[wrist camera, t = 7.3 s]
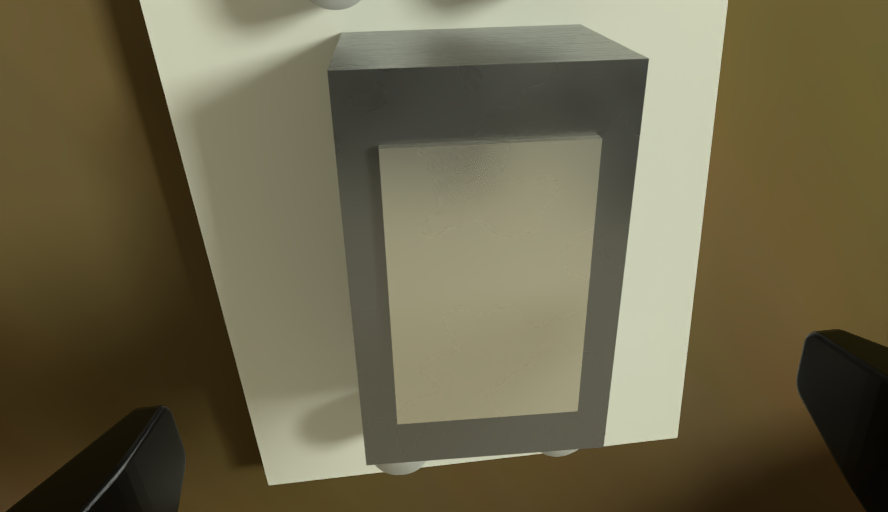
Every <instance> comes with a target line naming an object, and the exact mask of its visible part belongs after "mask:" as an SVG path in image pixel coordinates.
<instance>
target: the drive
mask: <svg viewBox="0 0 888 512" xmlns="http://www.w3.org/2000/svg"><path fill="white" fill-rule="evenodd" d="M648 63H649V58H647V57H645V56H643V55H641V54H639V53H637V52H635V51H633V50H631V49H629V48H627V47H625V46H623V45H621V44H619V43H617V42H615V41H613V40H611V39H609V38H607V37H605V36H603V35H601V34H599V33H597V32H595V31H593V30H591V29H589V28H587V27H585V26H583V25H581V24H574V25H544V26H515V27H485V28H456V29H426V30H396V31H367V32H342V33H341V35H340V38H339V41H338V43H337V46H336V49H335V51H334V54H333V57H332V59H331V62H330V65H329V67H328V70H327V74H328V84H329V94H330V104H331V114H332V124H333V134H334V144H335V154H336V165H337V175H338V185H339V195H340V205H341V215H342V225H343V235H344V245H345V255H346V265H347V275H348V286H349V296H350V306H351V316H352V326H353V336H354V346H355V356H356V366H357V376H358V386H359V397H360V407H361V417H362V427H363V437H364V447H365V457H366V465H379V464H392V463H405V462H418V461H431V460H444V459H457V458H470V457H483V456H496V455H509V454H522V453H535V452H548V451H561V450H574V449H587V448H600V447H604V440H605V431H606V423H607V414H608V405H609V397H610V388H611V380H612V371H613V363H614V354H615V345H616V337H617V328H618V320H619V311H620V303H621V294H622V286H623V277H624V268H625V260H626V251H627V243H628V234H629V226H630V217H631V208H632V200H633V191H634V183H635V174H636V166H637V157H638V148H639V140H640V131H641V123H642V114H643V106H644V97H645V89H646V80H647V71H648Z"/></svg>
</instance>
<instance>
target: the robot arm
mask: <svg viewBox="0 0 888 512" xmlns="http://www.w3.org/2000/svg"><path fill="white" fill-rule="evenodd" d="M797 389H798V392H799V395H800V397H801V399H802V401H803V403H804V404H805V406H806V408H807V410H808V412H809V413H810V415H811V417H812V419H813V421H814V423H815V424H816V426H817V428H818V430H819V432H820V434H821V435H822V437H823V439H824V441H825V443H826V445H827V446H828V448H829V450H830V452H831V454H832V456H833V457H834V459H835V461H836V463H837V465H838V467H839V468H840V470H841V472H842V474H843V475H844V477H845V479H846V481H847V482H848V484H849V486H850V487H851V489H852V490H853V492H854V494H855V495H856V497H857V498H858V500H859V501H860V503H861V504H862V506H863V507H864V509H865V510H866V512H888V347H885V346H883V345H880V344H878V343H875V342H872V341H870V340H867V339H865V338H862V337H859V336H857V335H854V334H851V333H849V332H846V331H843V330H840V329H832V330H823V331H814V332H812V333H810V334H808V335H807V337H806V338H805V341H804V345H803V350H802V355H801V359H800V364H799V369H798V373H797ZM185 464H186V458H185V451H184V447H183V444H182V441H181V438H180V435H179V432H178V429H177V426H176V423H175V420H174V417H173V414H172V412H171V410H170V409H169V408H168V407H166V406H164V405H159V406H150V407H141V408H137V409H135V410H133V411H132V412H130V413H129V414H128V415H127V416H125V417H124V418H123V419H122V420H120V421H119V422H118V423H117V424H115V425H114V426H113V427H112V428H110V429H109V430H108V431H106V432H105V433H104V434H103V435H101V436H100V437H99V438H98V439H96V440H95V441H94V442H93V443H91V444H90V445H89V446H88V447H86V448H85V449H84V450H83V451H81V452H80V453H79V454H78V455H76V456H75V457H74V458H73V459H71V460H70V461H69V462H68V463H66V464H65V465H64V466H62V467H61V468H60V469H59V470H57V471H56V472H55V473H54V474H52V475H51V476H50V477H49V478H47V479H46V480H45V481H44V482H42V483H41V484H40V485H39V486H37V487H36V488H35V489H34V490H32V491H31V492H30V493H29V494H27V495H26V496H25V497H23V498H22V499H21V500H20V501H18V502H17V503H16V504H15V505H13V506H12V507H11V508H10V509H8V510H7V511H6V512H178V507H179V501H180V495H181V489H182V483H183V478H184V472H185Z"/></svg>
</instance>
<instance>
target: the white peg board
mask: <svg viewBox="0 0 888 512" xmlns="http://www.w3.org/2000/svg"><path fill="white" fill-rule="evenodd" d="M140 4H141V8H142V11H143V15H144V19H145V23H146V26H147V30H148V34H149V38H150V41H151V45H152V49H153V53H154V56H155V60H156V64H157V68H158V72H159V75H160V79H161V83H162V87H163V90H164V94H165V98H166V102H167V105H168V109H169V113H170V117H171V120H172V124H173V128H174V132H175V135H176V139H177V143H178V147H179V150H180V154H181V158H182V162H183V165H184V169H185V173H186V177H187V181H188V184H189V188H190V192H191V196H192V199H193V203H194V207H195V211H196V214H197V218H198V222H199V226H200V229H201V233H202V237H203V241H204V244H205V248H206V252H207V256H208V259H209V263H210V267H211V271H212V274H213V278H214V282H215V286H216V290H217V293H218V297H219V301H220V305H221V308H222V312H223V316H224V320H225V323H226V327H227V331H228V335H229V338H230V342H231V346H232V350H233V353H234V357H235V361H236V365H237V368H238V372H239V376H240V380H241V383H242V387H243V391H244V395H245V399H246V402H247V406H248V410H249V414H250V417H251V421H252V425H253V429H254V432H255V436H256V440H257V444H258V447H259V451H260V455H261V459H262V462H263V466H264V470H265V474H266V477H267V481H268V485H276V484H284V483H293V482H302V481H310V480H319V479H327V478H336V477H344V476H353V475H361V474H370V473H379V472H385V473H388V474H392V475H405V474H409V473H412V472H414V471H416V470H418V469H419V468H421V467H430V466H438V465H447V464H456V463H464V462H473V461H481V460H490V459H498V458H507V457H515V456H524V455H533V454H541V453H543V454H545V455H548V456H555V457H558V456H565V455H568V454H571V453H573V452H575V451H576V450H578V449H574V450H561V451H548V452H535V453H522V454H509V455H496V456H483V457H470V458H457V459H444V460H431V461H418V462H405V463H392V464H379V465H366V457H365V447H364V437H363V427H362V417H361V407H360V397H359V386H358V376H357V366H356V356H355V346H354V336H353V326H352V316H351V306H350V296H349V286H348V275H347V265H346V255H345V245H344V235H343V225H342V215H341V205H340V195H339V185H338V175H337V165H336V154H335V144H334V134H333V124H332V114H331V104H330V94H329V84H328V74H327V70H328V67H329V65H330V62H331V59H332V57H333V54H334V51H335V49H336V46H337V43H338V41H339V38H340V35H341V33H342V32H367V31H396V30H426V29H456V28H485V27H515V26H544V25H574V24H581V25H583V26H585V27H587V28H589V29H591V30H593V31H595V32H597V33H599V34H601V35H603V36H605V37H607V38H609V39H611V40H613V41H615V42H617V43H619V44H621V45H623V46H625V47H627V48H629V49H631V50H633V51H635V52H637V53H639V54H641V55H643V56H645V57H647V58H649V63H648V71H647V80H646V89H645V97H644V106H643V114H642V123H641V131H640V140H639V148H638V157H637V166H636V174H635V183H634V191H633V200H632V208H631V217H630V226H629V234H628V243H627V251H626V260H625V268H624V277H623V286H622V294H621V303H620V311H619V320H618V328H617V337H616V345H615V354H614V363H613V371H612V380H611V388H610V397H609V405H608V414H607V423H606V431H605V440H604V446H610V445H618V444H627V443H635V442H644V441H652V440H661V439H670V438H677V436H678V427H679V419H680V410H681V401H682V393H683V384H684V376H685V367H686V358H687V350H688V341H689V333H690V324H691V315H692V307H693V298H694V289H695V281H696V272H697V264H698V255H699V246H700V238H701V229H702V220H703V212H704V203H705V195H706V186H707V177H708V169H709V160H710V151H711V143H712V134H713V126H714V117H715V108H716V100H717V91H718V82H719V74H720V65H721V57H722V48H723V39H724V31H725V22H726V14H727V5H728V0H140Z"/></svg>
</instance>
